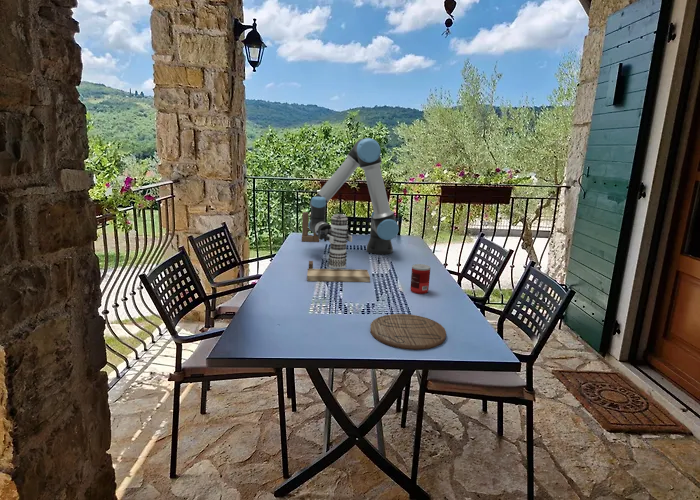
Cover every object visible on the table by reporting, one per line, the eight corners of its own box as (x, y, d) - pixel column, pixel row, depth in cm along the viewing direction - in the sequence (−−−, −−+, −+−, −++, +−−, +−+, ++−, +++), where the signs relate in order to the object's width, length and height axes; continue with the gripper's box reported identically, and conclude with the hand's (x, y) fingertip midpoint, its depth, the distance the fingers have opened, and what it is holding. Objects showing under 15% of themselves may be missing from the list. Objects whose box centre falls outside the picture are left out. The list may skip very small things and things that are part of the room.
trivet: (455, 351, 135) (456, 345, 134) (375, 350, 133) (375, 345, 132) (434, 319, 159) (434, 314, 159) (366, 318, 157) (366, 313, 157)
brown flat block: (312, 268, 214) (313, 260, 213) (312, 272, 208) (313, 264, 207) (308, 268, 213) (308, 260, 212) (308, 272, 208) (308, 264, 207)
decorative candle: (350, 266, 211) (353, 215, 205) (337, 269, 205) (339, 217, 199) (337, 262, 217) (339, 212, 211) (323, 265, 211) (325, 214, 205)
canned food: (429, 289, 190) (431, 265, 187) (426, 295, 183) (428, 270, 180) (412, 287, 192) (414, 263, 190) (408, 292, 185) (410, 267, 182)
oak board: (366, 274, 208) (367, 269, 207) (369, 282, 197) (369, 276, 196) (307, 273, 205) (307, 268, 204) (307, 281, 194) (307, 275, 194)
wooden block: (319, 242, 270) (319, 213, 266) (301, 241, 269) (302, 212, 265) (319, 240, 274) (319, 212, 269) (301, 240, 273) (302, 211, 269)
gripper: (343, 236, 229) (362, 246, 209) (304, 238, 220) (320, 249, 200) (344, 222, 227) (363, 230, 207) (304, 223, 218) (321, 232, 198)
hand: (342, 239), depth 204 cm, fingers closed on decorative candle, 9 cm apart
